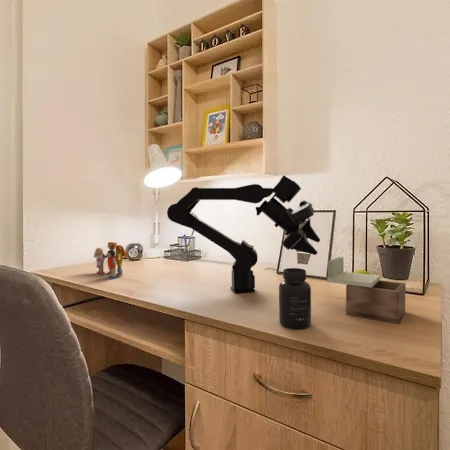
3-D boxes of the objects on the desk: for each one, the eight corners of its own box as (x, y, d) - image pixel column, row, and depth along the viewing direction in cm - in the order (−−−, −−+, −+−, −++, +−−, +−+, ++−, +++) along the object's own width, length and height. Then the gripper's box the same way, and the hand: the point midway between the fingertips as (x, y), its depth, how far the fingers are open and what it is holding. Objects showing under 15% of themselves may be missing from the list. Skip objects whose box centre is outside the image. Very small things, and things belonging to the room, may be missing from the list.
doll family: (92, 272, 129) (91, 242, 128) (114, 269, 135) (113, 240, 135) (112, 280, 113) (111, 245, 113) (136, 276, 120) (135, 243, 119)
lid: (327, 281, 74) (327, 261, 74) (339, 275, 82) (339, 256, 82) (371, 287, 68) (371, 265, 68) (380, 279, 76) (380, 259, 76)
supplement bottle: (275, 319, 69) (275, 267, 69) (304, 318, 70) (304, 266, 69) (284, 331, 62) (283, 273, 62) (316, 329, 63) (316, 272, 62)
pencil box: (346, 314, 72) (346, 285, 71) (356, 304, 80) (357, 277, 79) (399, 324, 65) (399, 292, 65) (405, 311, 73) (405, 283, 73)
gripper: (291, 204, 81) (335, 242, 81) (300, 187, 97) (338, 219, 97) (265, 232, 87) (307, 267, 86) (279, 211, 103) (314, 241, 102)
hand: (318, 247), depth 93 cm, fingers open, 9 cm apart
